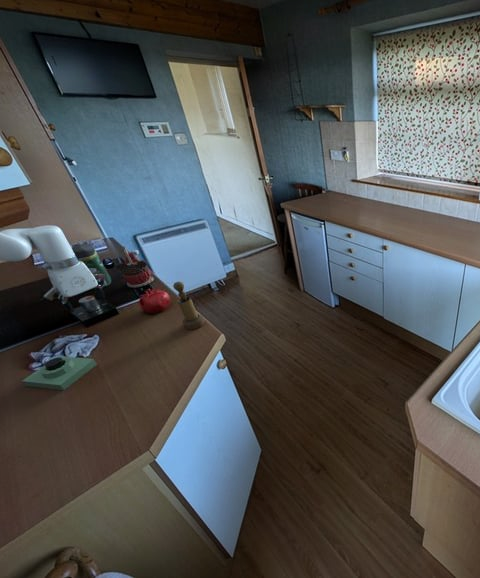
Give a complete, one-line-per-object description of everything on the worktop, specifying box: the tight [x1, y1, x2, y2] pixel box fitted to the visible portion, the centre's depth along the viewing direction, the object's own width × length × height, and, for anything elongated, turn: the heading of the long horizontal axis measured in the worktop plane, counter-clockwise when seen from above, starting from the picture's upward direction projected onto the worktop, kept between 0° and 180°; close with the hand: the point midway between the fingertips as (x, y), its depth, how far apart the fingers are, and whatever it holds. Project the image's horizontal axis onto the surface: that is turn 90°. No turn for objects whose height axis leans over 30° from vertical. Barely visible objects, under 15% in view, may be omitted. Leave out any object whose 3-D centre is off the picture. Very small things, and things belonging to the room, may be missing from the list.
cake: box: [115, 246, 155, 289], centre depth 128 cm, size 11×9×18 cm
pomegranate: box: [138, 288, 171, 314], centre depth 114 cm, size 10×10×9 cm
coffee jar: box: [71, 242, 112, 290], centre depth 126 cm, size 10×8×19 cm
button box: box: [21, 355, 98, 391], centre depth 86 cm, size 12×10×4 cm
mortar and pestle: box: [172, 281, 205, 331], centre depth 103 cm, size 7×6×18 cm
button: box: [43, 357, 65, 371], centre depth 85 cm, size 4×4×2 cm
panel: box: [70, 298, 120, 329], centre depth 111 cm, size 12×10×3 cm
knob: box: [78, 295, 100, 312], centre depth 109 cm, size 4×4×5 cm
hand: (87, 304), depth 108 cm, fingers open, 9 cm apart
